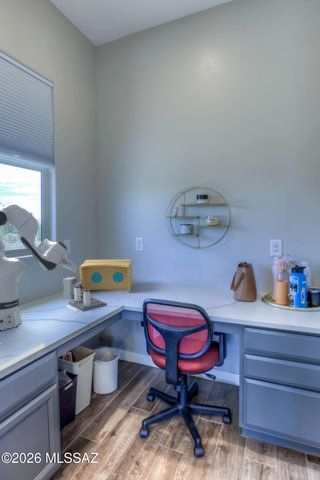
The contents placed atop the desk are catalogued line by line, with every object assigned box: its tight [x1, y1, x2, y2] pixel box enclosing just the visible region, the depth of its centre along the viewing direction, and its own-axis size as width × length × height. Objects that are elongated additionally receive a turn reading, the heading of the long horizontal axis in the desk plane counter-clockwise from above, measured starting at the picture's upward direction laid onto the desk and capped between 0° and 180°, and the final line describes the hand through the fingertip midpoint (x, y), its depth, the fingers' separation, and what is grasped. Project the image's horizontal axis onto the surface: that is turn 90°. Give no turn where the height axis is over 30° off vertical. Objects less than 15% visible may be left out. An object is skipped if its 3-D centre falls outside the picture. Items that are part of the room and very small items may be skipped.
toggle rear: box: [73, 285, 82, 302], centre depth 196 cm, size 3×4×11 cm
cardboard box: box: [78, 258, 133, 294], centre depth 234 cm, size 40×26×24 cm, turn 92°
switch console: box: [63, 296, 108, 313], centre depth 193 cm, size 22×22×3 cm
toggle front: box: [82, 289, 91, 307], centre depth 186 cm, size 3×4×11 cm
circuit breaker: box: [62, 276, 83, 300], centre depth 211 cm, size 8×14×15 cm, turn 78°
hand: (75, 271), depth 182 cm, fingers closed
